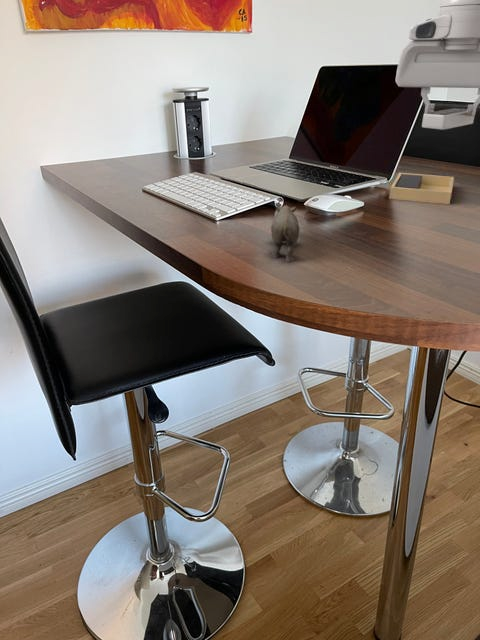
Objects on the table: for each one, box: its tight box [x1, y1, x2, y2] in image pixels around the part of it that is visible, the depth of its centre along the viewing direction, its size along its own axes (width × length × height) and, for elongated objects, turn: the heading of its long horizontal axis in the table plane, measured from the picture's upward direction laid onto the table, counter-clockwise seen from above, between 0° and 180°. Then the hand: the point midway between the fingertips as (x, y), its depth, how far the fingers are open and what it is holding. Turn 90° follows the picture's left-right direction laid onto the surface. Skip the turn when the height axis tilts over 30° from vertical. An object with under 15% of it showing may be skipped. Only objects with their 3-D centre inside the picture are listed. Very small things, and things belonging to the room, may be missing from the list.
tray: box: [388, 172, 455, 205], centre depth 102 cm, size 14×11×2 cm
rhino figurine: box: [270, 204, 300, 263], centre depth 75 cm, size 4×14×6 cm, turn 175°
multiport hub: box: [421, 107, 475, 131], centre depth 91 cm, size 4×11×2 cm, turn 131°
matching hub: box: [396, 174, 422, 189], centre depth 103 cm, size 11×4×2 cm, turn 158°
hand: (449, 115), depth 90 cm, fingers closed on multiport hub, 6 cm apart
